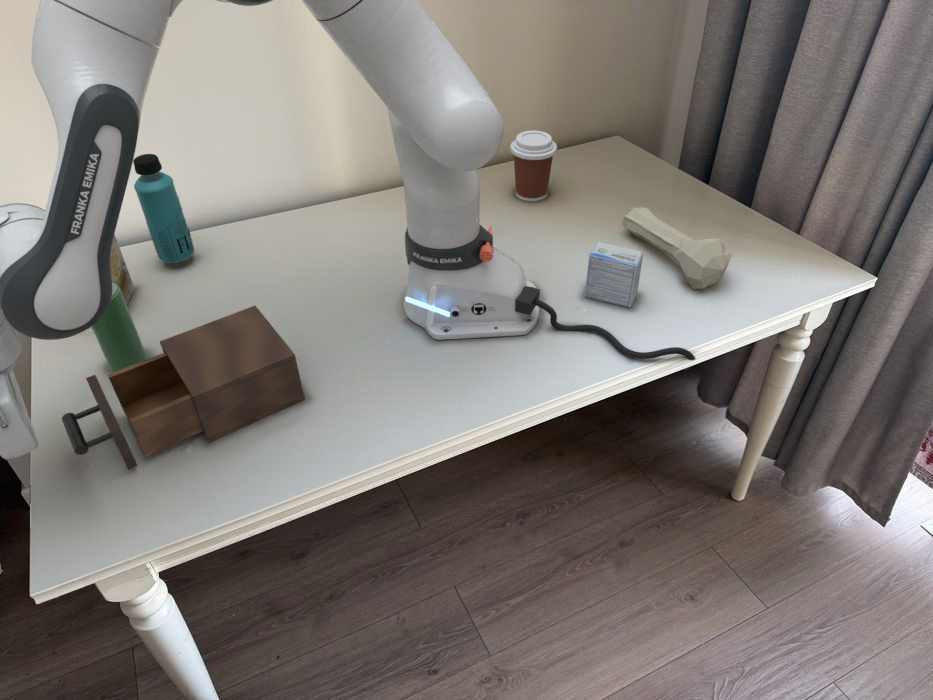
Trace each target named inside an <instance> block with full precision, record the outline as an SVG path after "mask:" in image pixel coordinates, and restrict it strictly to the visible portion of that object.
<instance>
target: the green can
mask: <svg viewBox="0 0 933 700" xmlns="http://www.w3.org/2000/svg"><path fill="white" fill-rule="evenodd" d="M90 328H91V329H92V331H93V334H94V336H95V338H96V341H97V343H98V345H99V347H100V349H101V352H102V354H103V356H104V358H105V361H106V362H107V365H108V367H109V369H110V371H111V373H113V372H115V371H118V370H121V369H123V368H126V367H128V366H131V365H134V364H136V363H139V362H141V361H144V360H147V359H148V355H147V352H146V350H145V347H144V345H143V343H142V340H141V338H140V335H139V332H138V330H137V327H136V325H135V322H134V320H133V317H132V314H131V312H130V310H129V306H128V304H126V302H125V299H124V297H123V294H122V292H121V289H120V287H119V286H118V285H117V284H115V283H113V282H112V298H111V302H110V304H109V307H108V309H107V310H106V312H105V313H104V315H103V316H102V317H101V318H100V319H99V320H98V321H97V322H96V323H95V324H94V325H93V326H91V327H90Z"/></svg>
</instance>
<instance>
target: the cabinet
mask: <svg viewBox="0 0 933 700" xmlns="http://www.w3.org/2000/svg"><path fill="white" fill-rule="evenodd" d="M159 344H160V347H161V350H162V353H166V355H167V357H168V358H169V360H170V362H171V363H172V365H173V367H174V368H175V370H176V372H177V373H178V375H179V377H180V378H181V380H182V382H183V383H184V385H185V387H186V388H187V390H188V392H189V393H190V395H191V397H192V398H193V401H194V404H195V407H196V410H197V412H198V415H199V418H200V421H201V424H202V426H203V429H204V431H202V433H203V435H204V436H205V439H206V440H207V441H208V443H212V442H215V441H216V440H219V439H221V438H223V437H225V436H227V435H229V434H231V433H234V432H236V431H238V430H240V429H242V428H245V427H247V426H250V425H251V424H254V423H256V422H258V421H260V420H263V419H265V418H267V417H269V416H271V415H274V414H276V413H279V412H281V411H283V410H285V409H286V408H290V407H292V406H293V405H296V404H298V403H301V402H302V401H305V400H306V399H305V394H304V389H303V385H302V380H301V376H300V371H299V367H298V362H297V358H296V354H295V352H294V351H293V350H292V349H291V347H290V346H289V345H288V344H287V342H285V340H284V339H283V338H282V337H281V335H280V334H279V333H278V332H277V330H276V329H275V327H273V325H272V324H271V323H270V322H269V320H268V319H267V318H266V317H265V315H264V314H263V313H262V312H261V310H260V309H259V308H258V307H257V306H256V305H252V306H249V307H247V308H244V309H242V310H239V311H235V312H234V313H231V314H229V315H226V316H224V317H220V318H218V319H215V320H212V321H210V322H208V323H205V324H202V325H199V326H197V327H194V328H192V329H189V330H186V331H184V332H181V333H178V334H176V335H172V336H171V337H168V338H165V339H163V340H160V341H159Z"/></svg>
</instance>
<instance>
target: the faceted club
mask: <svg viewBox="0 0 933 700" xmlns="http://www.w3.org/2000/svg"><path fill="white" fill-rule="evenodd" d="M621 225H622V226H623V227H624V228H625V229H626V230H628V232H629V233H631V234H632V235H633V236H635V237H637V238H639V239H641V240H643V241H646V242H647V243H649V244H650V245H651V246H654V247H655V248H657V249H658V250H660V251H662V252H663V253H664V254H665V255H666V256H667V257H668V258H670V259H671V260H672V261H673V262H674V263H675V264H676V265H678V267H680V268H681V270H682V272H683V274H684V277H685V279H686V281H687V283H688V284H689V285H690V287H691V289H693V290H695V289H696V290H701V289H705V288H707V287H709V286H713V285H716V284H717V282H718V281H720V279H721V278H722V277H723V276H724V275H725V273H726V271H727V268H728V266H729V264H730V261H731V259H732V257H733V251H732V248H731V247H728V246H725V244H724V243H723V241H722V240H721V239H718V238H705V239H696V240H695V239H694V238H692V237H690V236H689V235H687V234H686V233H683V232H682V231H680V230H678V229H676V228H675V227H673V226H670V225H669V224H667V223H666V222H664V221H662V220H660V219H659V218H657V217H656V216H655V215H654V214H653V213H652V211H651V210H650V209H649V208H648V207H633V208H632V209H631V210H630V211H628V212H627V213H626V214H625V215H624V216H623V218H622V221H621Z"/></svg>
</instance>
